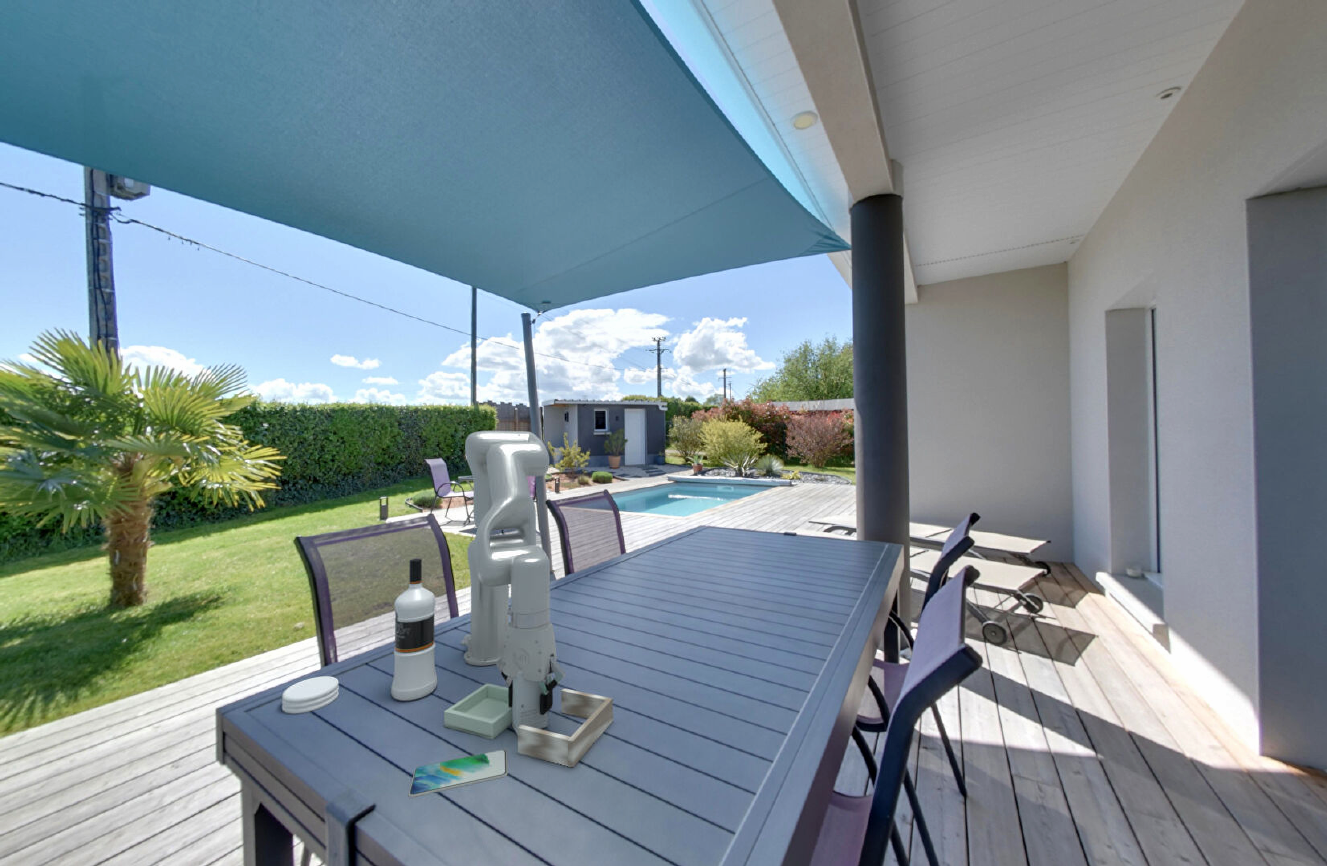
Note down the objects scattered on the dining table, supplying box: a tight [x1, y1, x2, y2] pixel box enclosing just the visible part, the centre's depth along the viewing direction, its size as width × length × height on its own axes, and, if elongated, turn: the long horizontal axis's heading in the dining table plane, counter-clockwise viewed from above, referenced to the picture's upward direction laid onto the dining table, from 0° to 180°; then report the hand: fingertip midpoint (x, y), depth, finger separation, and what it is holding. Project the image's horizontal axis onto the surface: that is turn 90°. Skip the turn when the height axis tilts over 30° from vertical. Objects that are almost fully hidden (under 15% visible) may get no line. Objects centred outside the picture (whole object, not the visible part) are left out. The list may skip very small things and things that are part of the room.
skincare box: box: [511, 671, 549, 736], centre depth 95 cm, size 6×4×12 cm
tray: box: [443, 682, 512, 741], centre depth 99 cm, size 12×12×3 cm
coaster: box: [281, 675, 340, 715], centre depth 105 cm, size 10×10×4 cm
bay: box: [517, 688, 614, 768], centre depth 92 cm, size 12×15×4 cm
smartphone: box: [408, 749, 508, 799], centre depth 82 cm, size 7×1×15 cm
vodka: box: [390, 557, 438, 702], centre depth 109 cm, size 9×9×30 cm
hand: (530, 707), depth 95 cm, fingers closed on skincare box, 6 cm apart
